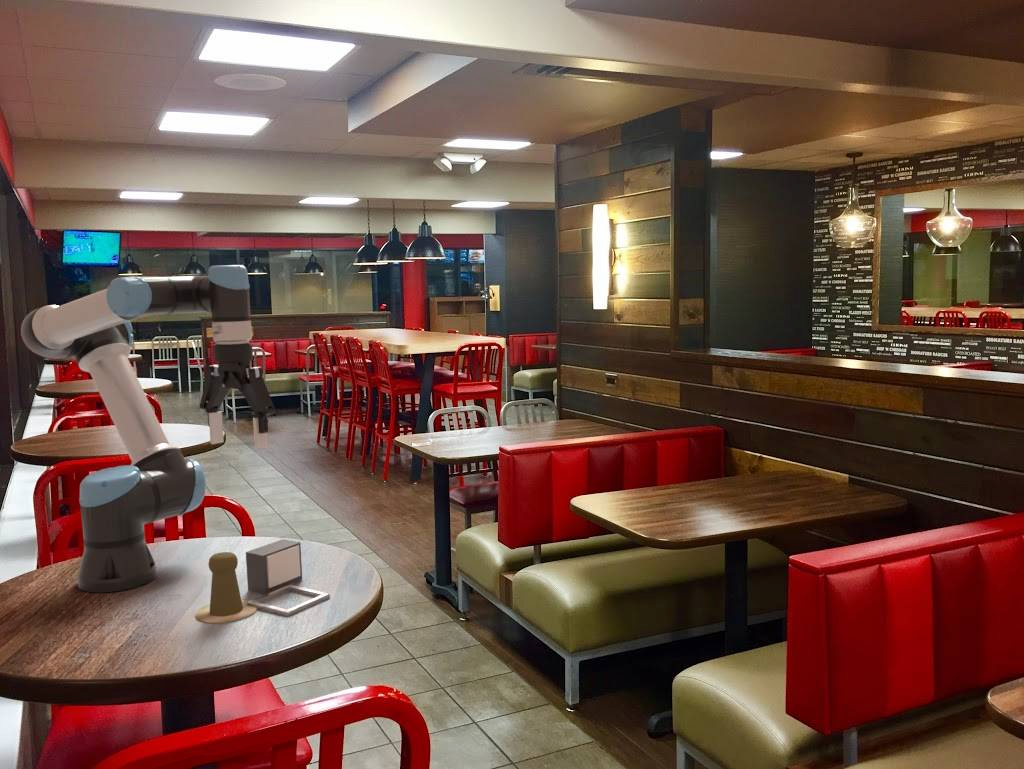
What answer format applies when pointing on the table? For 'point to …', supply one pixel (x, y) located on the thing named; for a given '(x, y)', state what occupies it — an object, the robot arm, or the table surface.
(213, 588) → the pepper shaker
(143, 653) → the table surface
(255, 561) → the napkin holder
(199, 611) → the tan round coaster
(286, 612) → the taupe square frame
